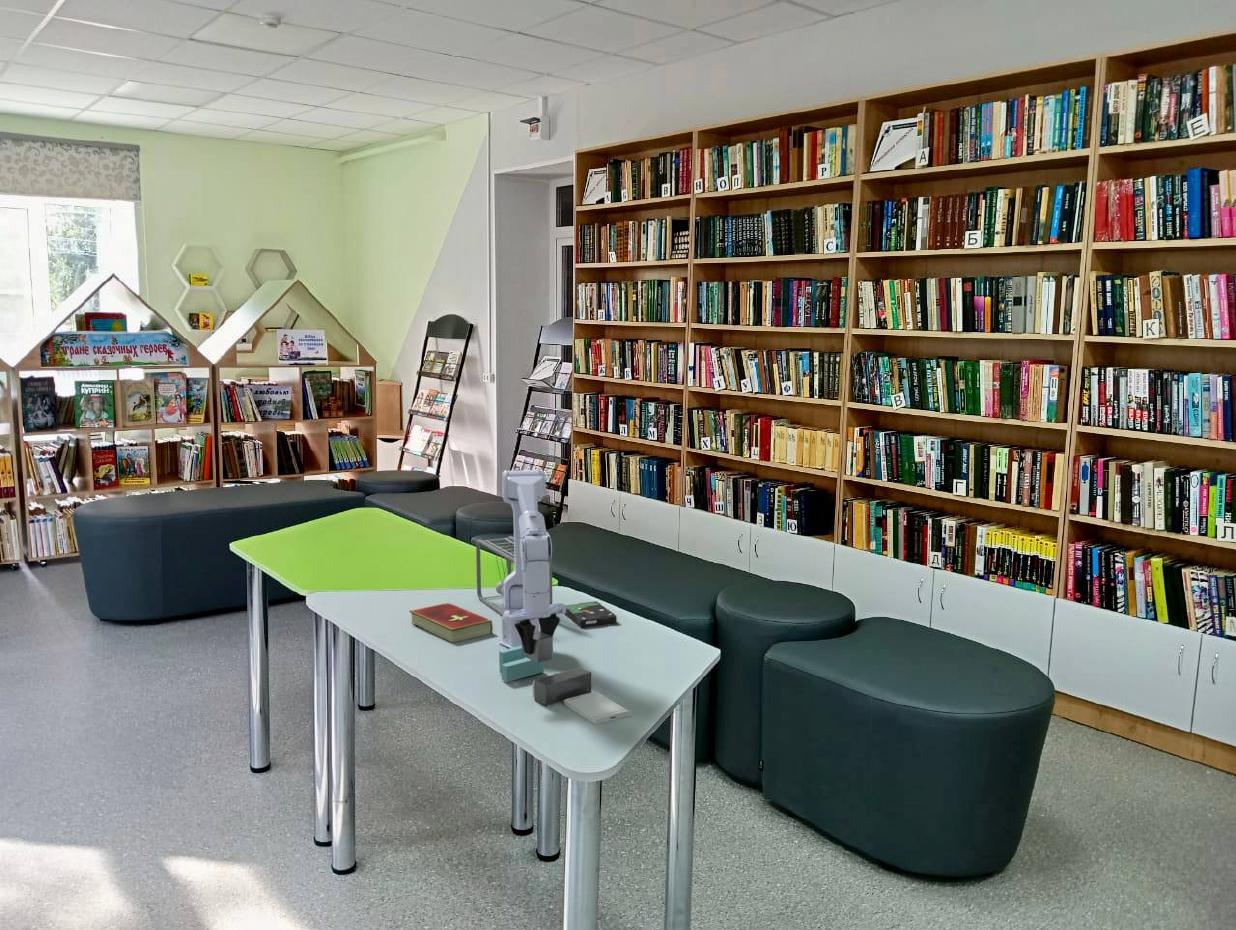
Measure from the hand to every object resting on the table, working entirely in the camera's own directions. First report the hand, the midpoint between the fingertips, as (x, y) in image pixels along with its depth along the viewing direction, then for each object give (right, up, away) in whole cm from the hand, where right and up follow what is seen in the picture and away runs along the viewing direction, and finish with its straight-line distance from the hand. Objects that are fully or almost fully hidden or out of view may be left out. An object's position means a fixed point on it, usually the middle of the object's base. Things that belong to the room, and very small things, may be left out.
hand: (537, 650), depth 211 cm
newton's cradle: (-11, 0, +56) cm, 58 cm away
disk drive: (+10, -1, +49) cm, 50 cm away
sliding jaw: (-5, -6, +7) cm, 10 cm away
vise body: (+5, -8, -5) cm, 11 cm away
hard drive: (+13, -10, -13) cm, 21 cm away
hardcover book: (-26, -2, +40) cm, 48 cm away
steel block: (0, -1, 0) cm, 1 cm away
